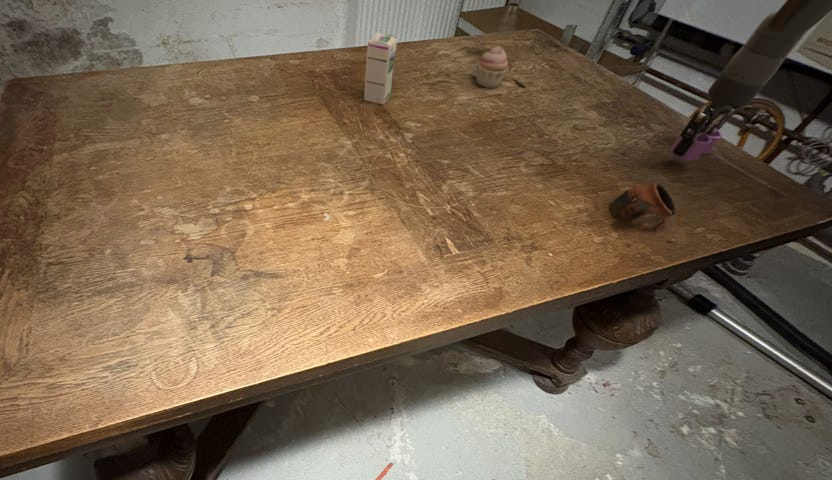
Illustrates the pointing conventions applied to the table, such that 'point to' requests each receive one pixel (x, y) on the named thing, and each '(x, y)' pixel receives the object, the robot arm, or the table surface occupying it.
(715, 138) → the ramekin
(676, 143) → the ramekin
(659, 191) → the pottery mug
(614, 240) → the table surface
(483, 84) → the cupcake
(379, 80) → the syrup box
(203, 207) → the table surface
